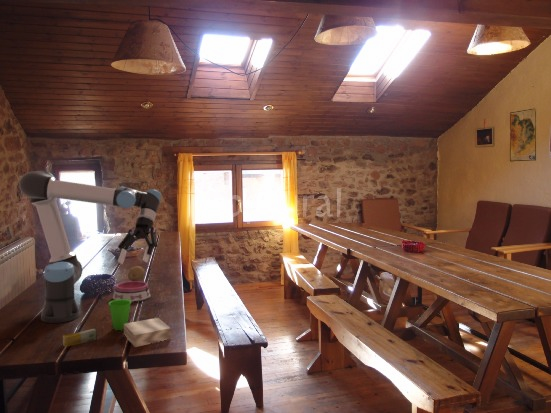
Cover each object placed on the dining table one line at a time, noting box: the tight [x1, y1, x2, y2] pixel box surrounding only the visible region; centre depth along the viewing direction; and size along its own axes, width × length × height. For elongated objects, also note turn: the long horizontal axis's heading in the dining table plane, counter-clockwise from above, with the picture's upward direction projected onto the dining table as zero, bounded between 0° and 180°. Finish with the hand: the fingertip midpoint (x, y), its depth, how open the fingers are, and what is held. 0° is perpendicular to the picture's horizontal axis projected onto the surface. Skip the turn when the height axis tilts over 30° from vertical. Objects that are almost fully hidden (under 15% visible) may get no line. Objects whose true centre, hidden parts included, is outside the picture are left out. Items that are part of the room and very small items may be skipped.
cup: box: [107, 299, 132, 331], centre depth 191 cm, size 9×9×11 cm
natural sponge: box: [127, 265, 146, 282], centre depth 260 cm, size 9×9×10 cm
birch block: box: [123, 317, 172, 348], centre depth 183 cm, size 14×14×5 cm
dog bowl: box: [112, 280, 152, 303], centre depth 235 cm, size 18×19×7 cm
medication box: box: [62, 328, 98, 348], centre depth 177 cm, size 12×3×4 cm, turn 132°
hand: (132, 262), depth 203 cm, fingers open, 13 cm apart
